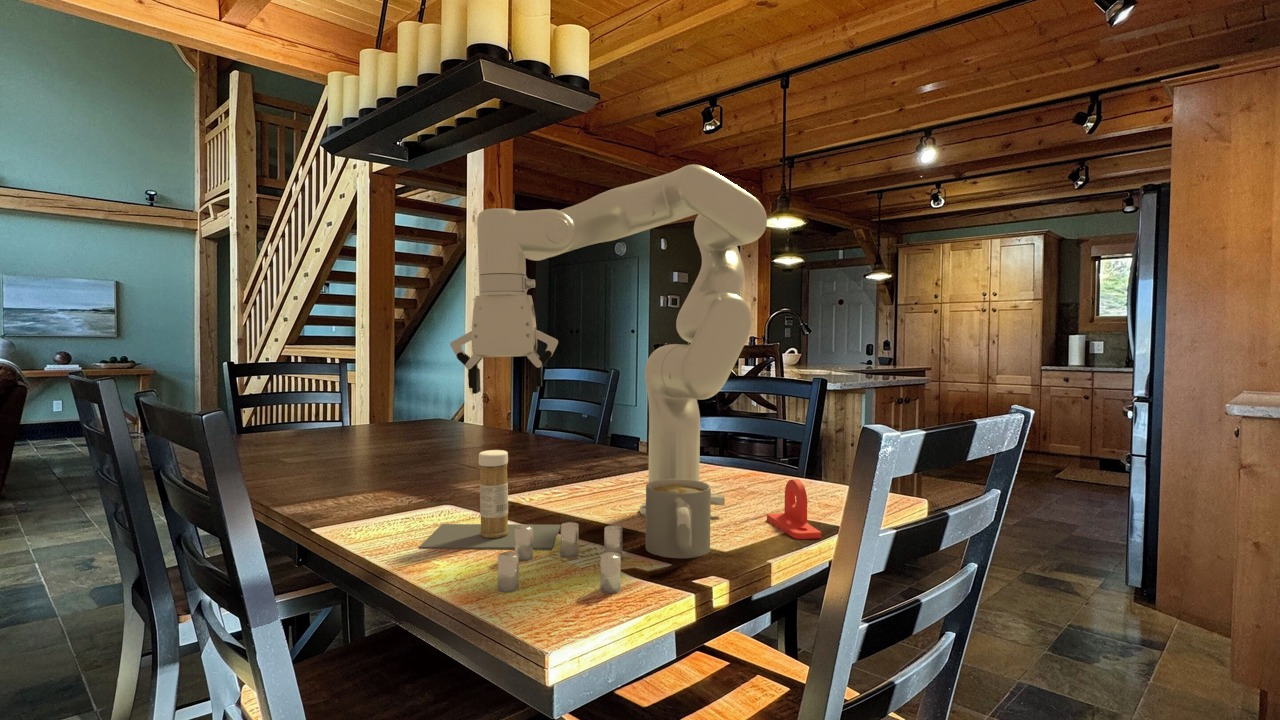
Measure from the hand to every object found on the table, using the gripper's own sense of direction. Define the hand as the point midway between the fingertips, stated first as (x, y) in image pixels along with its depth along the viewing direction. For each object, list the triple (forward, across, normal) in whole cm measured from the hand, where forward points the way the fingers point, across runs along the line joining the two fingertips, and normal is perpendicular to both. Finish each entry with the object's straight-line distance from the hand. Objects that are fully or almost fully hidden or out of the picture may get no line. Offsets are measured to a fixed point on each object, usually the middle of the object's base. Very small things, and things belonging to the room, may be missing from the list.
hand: (506, 392), depth 107 cm
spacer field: (+24, -10, +19) cm, 32 cm away
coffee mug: (+24, -27, +10) cm, 37 cm away
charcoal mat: (+24, +2, +3) cm, 24 cm away
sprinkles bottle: (+23, +2, +3) cm, 23 cm away
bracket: (+25, -48, -3) cm, 54 cm away
